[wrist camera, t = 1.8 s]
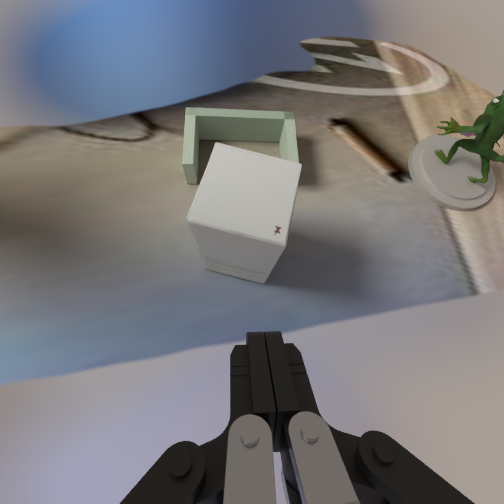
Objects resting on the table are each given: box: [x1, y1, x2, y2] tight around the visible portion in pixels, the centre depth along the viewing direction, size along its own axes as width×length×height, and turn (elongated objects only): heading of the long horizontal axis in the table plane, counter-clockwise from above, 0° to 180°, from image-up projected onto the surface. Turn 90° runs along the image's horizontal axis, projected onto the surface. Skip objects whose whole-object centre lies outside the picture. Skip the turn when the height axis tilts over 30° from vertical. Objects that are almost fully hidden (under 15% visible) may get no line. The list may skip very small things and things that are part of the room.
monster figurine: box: [408, 91, 504, 211], centre depth 32 cm, size 12×12×10 cm
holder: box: [182, 107, 299, 184], centre depth 33 cm, size 8×13×4 cm, turn 92°
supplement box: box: [186, 142, 302, 284], centre depth 25 cm, size 7×7×13 cm
